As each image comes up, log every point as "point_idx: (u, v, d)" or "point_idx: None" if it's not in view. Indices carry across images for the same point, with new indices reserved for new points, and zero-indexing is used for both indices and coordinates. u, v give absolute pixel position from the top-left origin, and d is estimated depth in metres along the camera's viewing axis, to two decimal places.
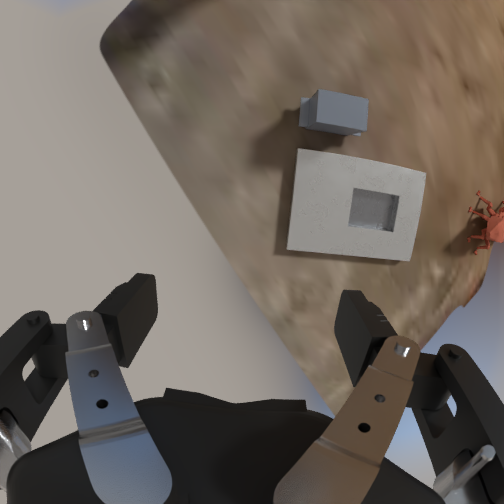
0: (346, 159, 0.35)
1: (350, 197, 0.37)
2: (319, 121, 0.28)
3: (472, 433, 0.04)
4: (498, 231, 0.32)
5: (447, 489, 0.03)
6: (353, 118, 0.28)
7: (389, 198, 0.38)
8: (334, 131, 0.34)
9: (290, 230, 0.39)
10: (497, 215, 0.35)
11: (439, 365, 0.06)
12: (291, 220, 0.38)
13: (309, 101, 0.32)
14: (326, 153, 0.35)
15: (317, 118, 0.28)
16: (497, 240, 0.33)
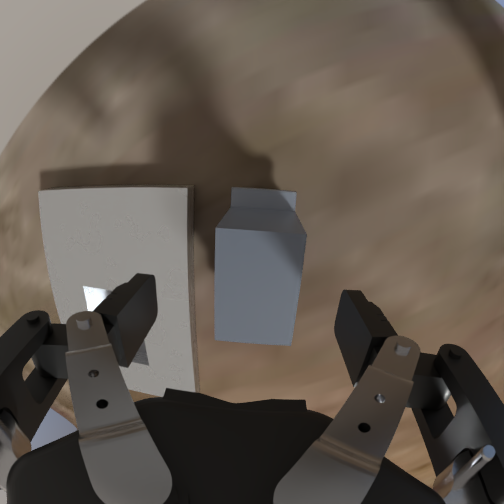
0: (180, 281, 0.20)
1: None
2: (217, 235, 0.13)
3: (472, 433, 0.04)
4: None
5: (447, 489, 0.03)
6: (238, 314, 0.14)
7: None
8: None
9: (59, 191, 0.18)
10: None
11: (439, 365, 0.06)
12: (71, 190, 0.18)
13: (287, 208, 0.17)
14: (184, 244, 0.19)
15: (224, 230, 0.12)
16: None
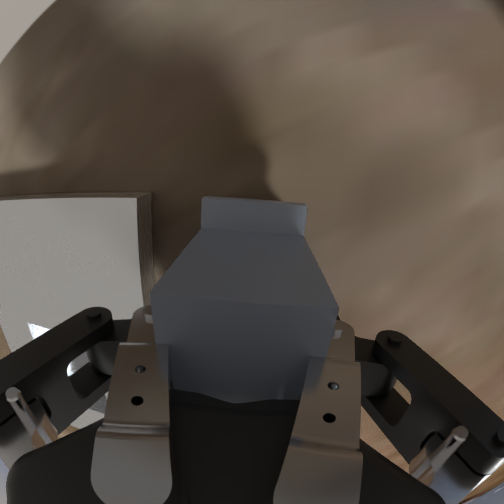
0: None
1: None
2: (155, 307, 0.06)
3: (436, 417, 0.05)
4: None
5: (427, 475, 0.04)
6: None
7: None
8: None
9: None
10: None
11: (380, 355, 0.07)
12: (2, 203, 0.11)
13: (292, 232, 0.11)
14: (137, 280, 0.12)
15: (168, 298, 0.06)
16: None
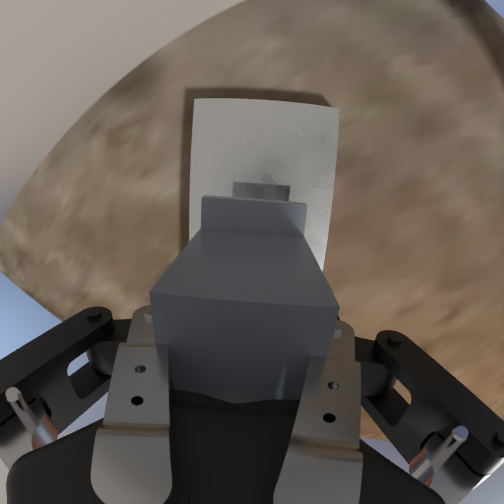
0: (329, 174, 0.26)
1: (275, 182, 0.26)
2: (155, 306, 0.06)
3: (436, 417, 0.05)
4: None
5: (427, 474, 0.04)
6: None
7: None
8: None
9: (222, 100, 0.24)
10: None
11: (380, 355, 0.07)
12: (237, 100, 0.24)
13: (293, 231, 0.11)
14: (335, 145, 0.25)
15: (168, 298, 0.06)
16: None
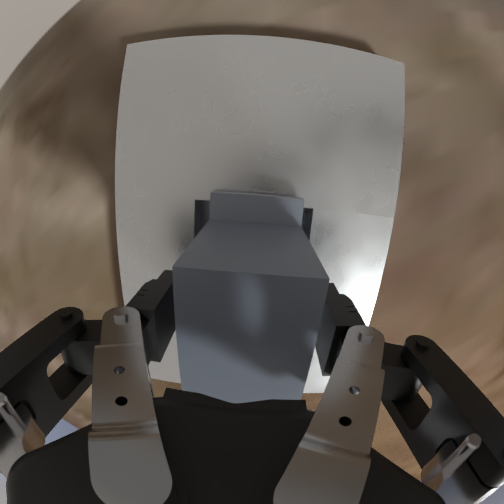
0: (389, 187, 0.12)
1: None
2: (176, 279, 0.07)
3: (453, 423, 0.04)
4: None
5: (437, 480, 0.03)
6: (216, 389, 0.08)
7: None
8: None
9: (177, 40, 0.10)
10: None
11: (407, 358, 0.07)
12: (206, 37, 0.10)
13: (291, 223, 0.12)
14: (400, 131, 0.11)
15: (187, 271, 0.07)
16: None
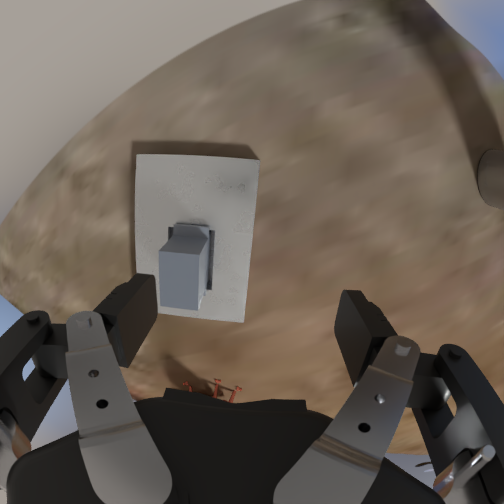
0: (249, 220, 0.31)
1: None
2: (159, 254, 0.26)
3: (472, 433, 0.04)
4: None
5: (447, 488, 0.03)
6: (170, 292, 0.27)
7: None
8: None
9: (158, 155, 0.29)
10: None
11: (439, 365, 0.06)
12: (170, 155, 0.29)
13: (204, 236, 0.31)
14: (255, 195, 0.30)
15: (162, 252, 0.26)
16: None
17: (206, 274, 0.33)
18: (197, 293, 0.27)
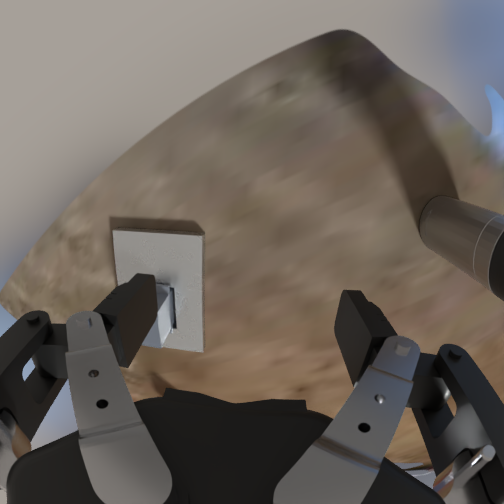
0: (198, 280, 0.40)
1: None
2: None
3: (472, 433, 0.04)
4: None
5: (447, 488, 0.03)
6: None
7: None
8: None
9: (128, 232, 0.38)
10: None
11: (439, 365, 0.06)
12: (137, 232, 0.38)
13: (166, 293, 0.40)
14: (200, 262, 0.39)
15: None
16: None
17: (170, 318, 0.42)
18: (159, 337, 0.36)
